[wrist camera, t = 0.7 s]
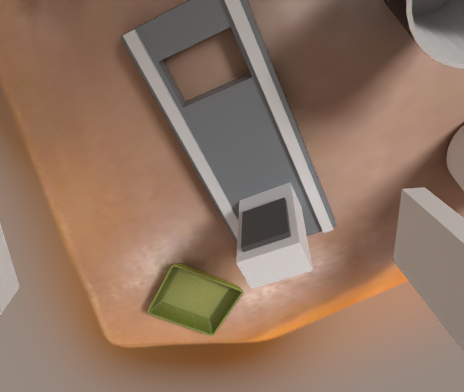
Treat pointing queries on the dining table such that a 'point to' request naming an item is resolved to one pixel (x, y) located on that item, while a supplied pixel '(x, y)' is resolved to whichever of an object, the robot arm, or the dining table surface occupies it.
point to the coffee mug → (434, 27)
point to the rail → (239, 139)
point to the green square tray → (194, 299)
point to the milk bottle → (456, 157)
